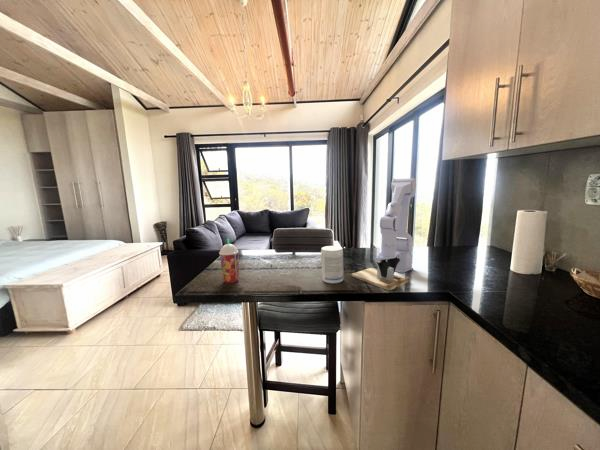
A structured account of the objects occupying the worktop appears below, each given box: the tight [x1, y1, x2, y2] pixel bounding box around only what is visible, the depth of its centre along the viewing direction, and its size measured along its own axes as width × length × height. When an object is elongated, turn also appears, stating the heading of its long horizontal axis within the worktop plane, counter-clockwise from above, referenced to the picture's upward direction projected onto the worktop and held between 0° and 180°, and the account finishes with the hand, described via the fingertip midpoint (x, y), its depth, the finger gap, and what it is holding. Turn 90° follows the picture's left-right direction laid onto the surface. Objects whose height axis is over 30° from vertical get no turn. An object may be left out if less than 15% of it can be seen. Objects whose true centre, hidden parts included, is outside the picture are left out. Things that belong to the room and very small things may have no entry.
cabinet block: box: [376, 266, 395, 281], centre depth 104 cm, size 4×5×6 cm
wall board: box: [351, 267, 411, 292], centre depth 107 cm, size 14×20×2 cm
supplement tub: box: [320, 245, 344, 284], centre depth 107 cm, size 10×10×15 cm
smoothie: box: [218, 237, 240, 284], centre depth 108 cm, size 8×8×20 cm
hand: (387, 275), depth 103 cm, fingers closed on cabinet block, 4 cm apart
